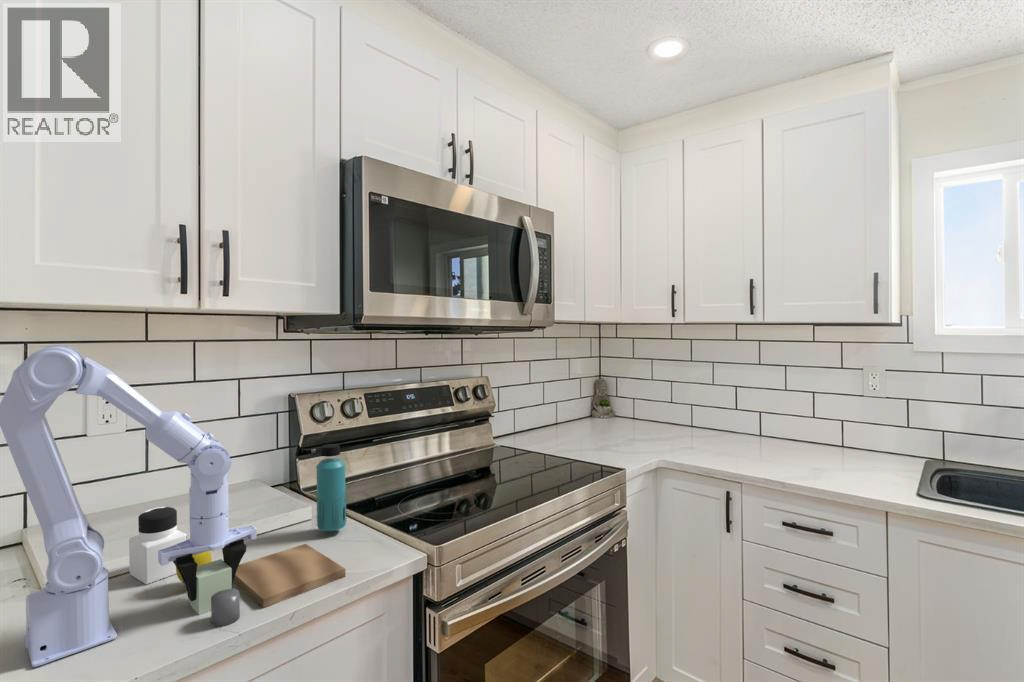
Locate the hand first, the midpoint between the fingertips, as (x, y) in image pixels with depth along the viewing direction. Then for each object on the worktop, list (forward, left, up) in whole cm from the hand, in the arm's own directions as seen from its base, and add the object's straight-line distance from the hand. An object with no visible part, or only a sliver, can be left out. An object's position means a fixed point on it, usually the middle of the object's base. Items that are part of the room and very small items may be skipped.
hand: (210, 592), depth 89 cm
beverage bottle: (+29, +13, -2) cm, 32 cm away
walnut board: (+13, 0, -2) cm, 13 cm away
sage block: (0, 0, -2) cm, 2 cm away
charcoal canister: (0, -7, -2) cm, 7 cm away
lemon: (0, +9, -2) cm, 9 cm away
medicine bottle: (-3, +19, -2) cm, 19 cm away
